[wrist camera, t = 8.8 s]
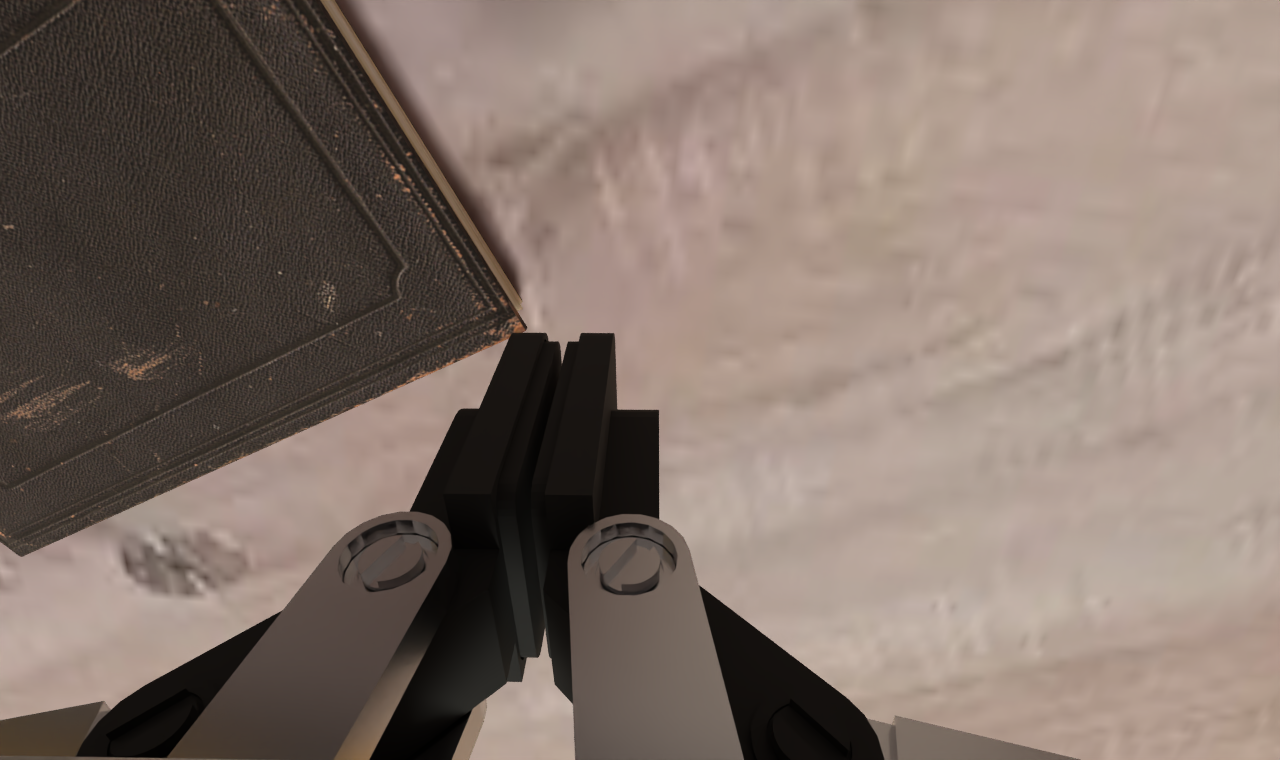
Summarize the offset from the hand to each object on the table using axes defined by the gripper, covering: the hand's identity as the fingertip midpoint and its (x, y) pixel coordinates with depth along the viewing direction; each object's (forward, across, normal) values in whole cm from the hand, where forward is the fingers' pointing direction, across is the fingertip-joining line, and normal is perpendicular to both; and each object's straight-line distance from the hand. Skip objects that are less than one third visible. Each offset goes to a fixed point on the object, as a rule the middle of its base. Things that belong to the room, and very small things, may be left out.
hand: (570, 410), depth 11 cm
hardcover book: (+11, +16, +1) cm, 20 cm away
